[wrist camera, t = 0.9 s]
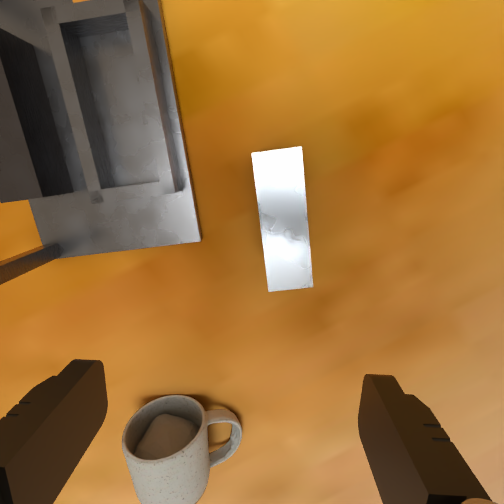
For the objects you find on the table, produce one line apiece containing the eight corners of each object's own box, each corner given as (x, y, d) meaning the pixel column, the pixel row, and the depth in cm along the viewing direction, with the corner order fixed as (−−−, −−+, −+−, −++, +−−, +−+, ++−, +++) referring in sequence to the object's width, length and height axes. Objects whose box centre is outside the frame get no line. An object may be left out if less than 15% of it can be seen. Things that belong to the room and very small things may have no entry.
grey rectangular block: (289, 151, 26) (301, 146, 19) (298, 253, 29) (313, 286, 21) (253, 155, 27) (251, 153, 19) (266, 257, 29) (268, 291, 21)
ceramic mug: (151, 456, 36) (124, 533, 28) (138, 395, 33) (106, 461, 26) (245, 450, 35) (243, 526, 28) (238, 389, 33) (234, 454, 26)
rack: (150, -58, 23) (82, -195, 14) (202, 238, 28) (177, 271, 20) (-34, -26, 23) (-205, -136, 15) (54, 256, 29) (-32, 296, 21)
